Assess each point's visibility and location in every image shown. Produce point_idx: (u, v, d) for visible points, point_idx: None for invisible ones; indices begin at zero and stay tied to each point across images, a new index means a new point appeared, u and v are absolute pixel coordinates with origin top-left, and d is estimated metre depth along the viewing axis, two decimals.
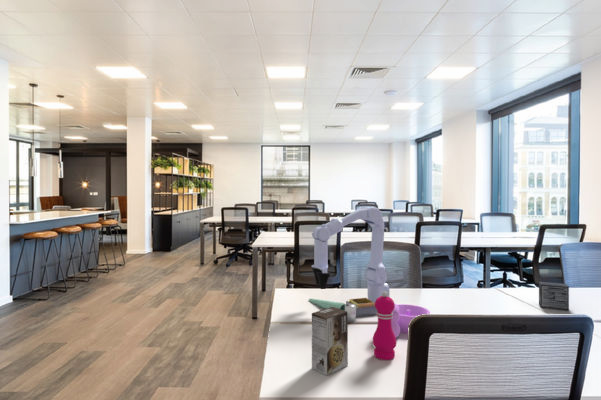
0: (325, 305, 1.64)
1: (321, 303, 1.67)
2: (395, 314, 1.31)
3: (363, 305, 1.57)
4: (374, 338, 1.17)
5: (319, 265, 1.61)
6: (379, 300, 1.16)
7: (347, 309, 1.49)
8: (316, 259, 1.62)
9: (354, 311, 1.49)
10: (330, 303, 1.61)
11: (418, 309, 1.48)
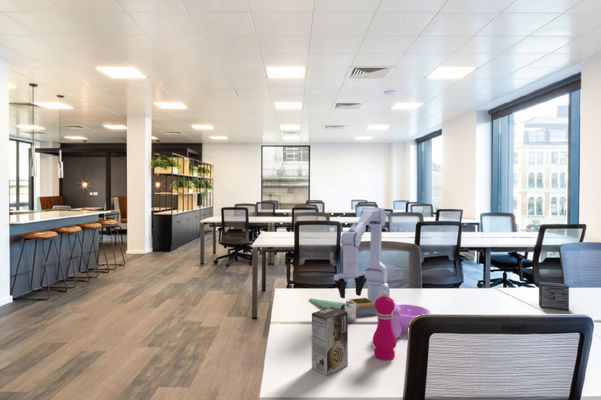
0: (325, 305, 1.64)
1: (321, 303, 1.67)
2: (396, 314, 1.31)
3: (363, 305, 1.57)
4: (374, 338, 1.17)
5: (343, 272, 1.50)
6: (379, 300, 1.16)
7: (347, 309, 1.49)
8: None
9: (354, 311, 1.49)
10: (330, 303, 1.62)
11: (418, 309, 1.48)
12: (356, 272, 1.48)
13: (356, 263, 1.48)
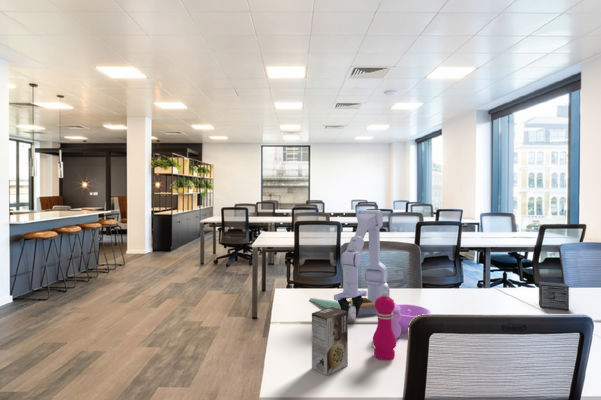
0: (326, 304, 1.64)
1: (322, 302, 1.68)
2: (396, 314, 1.31)
3: (363, 305, 1.57)
4: (374, 338, 1.17)
5: (343, 292, 1.50)
6: (379, 300, 1.16)
7: None
8: None
9: (354, 311, 1.49)
10: (331, 302, 1.62)
11: (418, 309, 1.48)
12: (356, 292, 1.49)
13: (356, 283, 1.49)
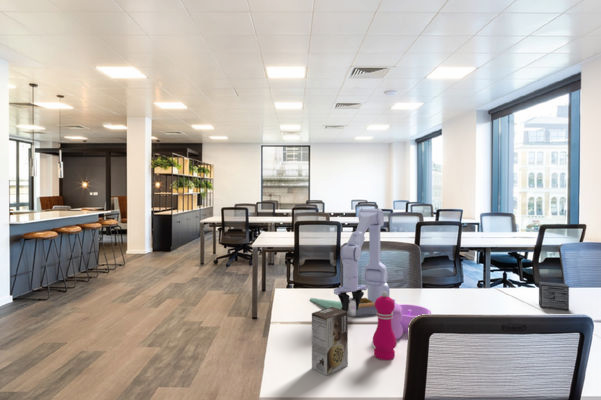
0: (327, 304, 1.64)
1: (322, 302, 1.68)
2: (398, 314, 1.31)
3: (363, 305, 1.57)
4: (374, 338, 1.17)
5: (343, 286, 1.50)
6: (379, 300, 1.16)
7: None
8: None
9: (354, 305, 1.49)
10: (332, 302, 1.62)
11: (418, 309, 1.48)
12: (356, 286, 1.49)
13: (356, 277, 1.48)
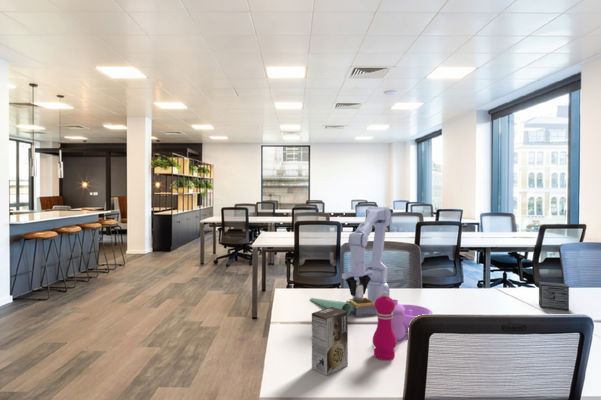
0: (327, 304, 1.65)
1: (323, 302, 1.68)
2: (401, 315, 1.30)
3: (363, 305, 1.57)
4: (374, 338, 1.17)
5: None
6: (379, 300, 1.16)
7: None
8: None
9: (361, 289, 1.55)
10: (332, 302, 1.62)
11: (419, 309, 1.48)
12: (363, 271, 1.55)
13: (363, 262, 1.55)
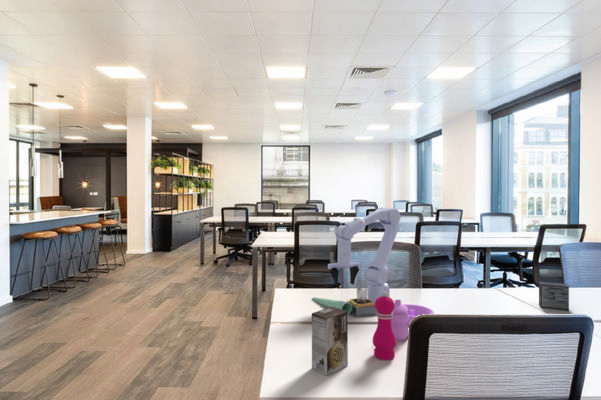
0: (328, 304, 1.66)
1: (324, 302, 1.69)
2: (405, 315, 1.30)
3: (363, 305, 1.57)
4: (374, 338, 1.17)
5: None
6: (379, 300, 1.16)
7: (359, 292, 1.59)
8: None
9: (365, 294, 1.59)
10: (333, 302, 1.63)
11: (420, 309, 1.49)
12: (348, 262, 1.64)
13: (348, 254, 1.64)
